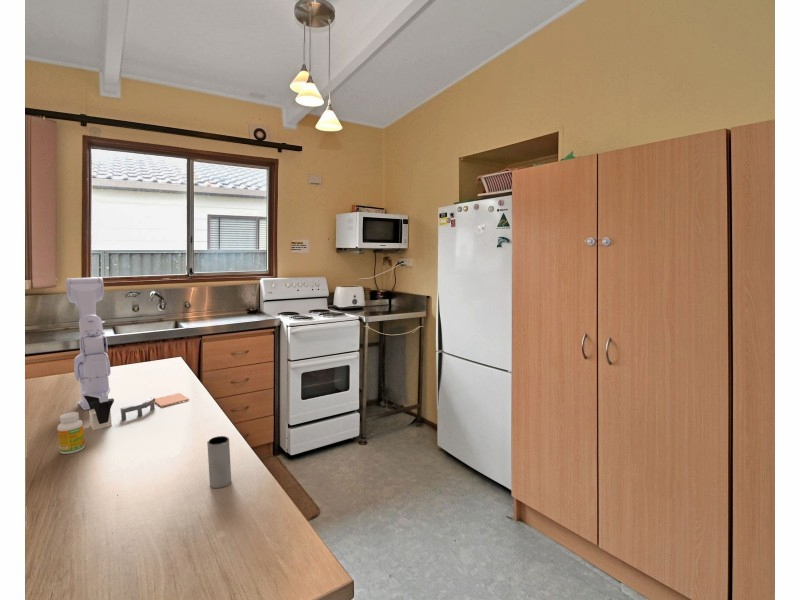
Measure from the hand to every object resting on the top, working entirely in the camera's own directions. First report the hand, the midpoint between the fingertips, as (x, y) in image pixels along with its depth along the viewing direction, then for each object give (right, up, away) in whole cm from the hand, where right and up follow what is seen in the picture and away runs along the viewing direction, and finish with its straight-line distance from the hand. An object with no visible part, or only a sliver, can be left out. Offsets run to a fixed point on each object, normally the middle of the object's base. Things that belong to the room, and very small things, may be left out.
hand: (100, 419), depth 128 cm
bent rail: (+6, -1, +9) cm, 11 cm away
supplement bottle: (+3, -4, -15) cm, 16 cm away
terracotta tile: (+10, +1, +21) cm, 23 cm away
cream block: (0, -2, 0) cm, 2 cm away
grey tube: (+50, -6, -31) cm, 59 cm away
